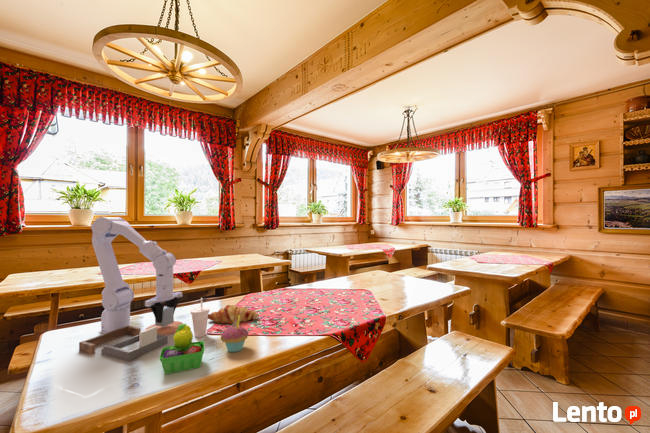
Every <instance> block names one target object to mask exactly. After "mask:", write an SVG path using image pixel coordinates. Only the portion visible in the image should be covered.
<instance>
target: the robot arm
mask: <svg viewBox="0 0 650 433" xmlns="http://www.w3.org/2000/svg"><path fill="white" fill-rule="evenodd" d="M90 228H91V231H92V237H91V244H92V248H93V250H94V253H95V257H96V259H97V263H98V266H99V269H100V273H101V276H102V278H103V282H104V285H105V287H104V288H103V290H102V291H101V295H102V296H101V297H102V298H101V305H102V307H103V308H104V310H103V311H102V313H101V315H100V330H99V331H98V333H100V334H105V333H108V332H111V331H114V330H117V329H120V328H123V327H126V326H131V323H130V322H131V303H132V301H133V300H134V298H135V292H134V291H133V290H132V288H130V285H129V283H128V282H126V281H124V280H123V276H122V274H121V271H120V268H119V264H118V261H117V258H116V255H115V252H114V249H113V245H112V242H113V241H114V239H116V238H117V236H119V235H120V236H123V237H125V239H127V240H129V241H130V242H132V243H133V244H134V245H136V246H137V247H138V248H139V250H138V251H139V253H140V254H142V255H143V257H145V258H147V259H148V260H150V262H152V266H153V268H154V269H155V273H156V274H155V275H156V276H155V279H156V280H155V285H156V286H155V287H156V288H155V296H154V297H152V298H150V299H148V300H144V307H147V308H149V309H150V310H151V311H152V313H153V315H154V318H155V319H156V322H158V323H161V322H162V312H163V308H164V307H165V305H166V306H168V307H174V313H175V312H176V308H177V306H178V304H179V303H180V299H179V298H182V297H183V292H182V291H177V292H174V266H175V265H176V262H177V259H176V256H175V255H174V253H171V252H167V249H163V248H161V247H160V246H159V245H158V242H157V241H156V240H155V241H153V240H146V239H145V238H144V237H143V236H142V235H141V234H140V233H139V232H138V231H137V230H135V228H133V227H132V226H131V225H130V223H129V222H128V221H126V220H125V219H124V218H122V217H119V216H116V217H109V216H108V217H106V216H100V217H96V219H95V220H94V221H93V223H91V225H90ZM164 302H165V305H164V304H162V303H164ZM155 319H154V320H155Z"/></svg>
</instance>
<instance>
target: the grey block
mask: <svg viewBox="0 0 650 433" xmlns="http://www.w3.org/2000/svg"><path fill="white" fill-rule="evenodd" d="M174 315H175V312H174V307H168V306H165V305H164V308H163V312H162V322H161V323H158V322H156V319H154V324H155V325H157V326H163V327H164V326H166V325H169V324H172V323H174V321H175V319H174V318H175V317H174Z"/></svg>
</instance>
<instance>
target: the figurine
mask: <svg viewBox="0 0 650 433" xmlns="http://www.w3.org/2000/svg"><path fill="white" fill-rule="evenodd" d="M230 327H237V318H236V320H235V323H232V324H231V325H230Z"/></svg>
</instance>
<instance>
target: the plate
mask: <svg viewBox="0 0 650 433" xmlns="http://www.w3.org/2000/svg"><path fill="white" fill-rule="evenodd" d="M181 324H184V323H183V322H182V321H178V320H174V323H172V324H169V325H166V326H164V327H163V326H157V325H155V323H154V324H152V325H151V324H150V325H149V326H147V327H146V328H145V329H144V330H147V329H149V328H152V327H157V334H160V335H165V336H169V335H173V334H175V333H176V330H177V329H178V326H179V325H181Z"/></svg>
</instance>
